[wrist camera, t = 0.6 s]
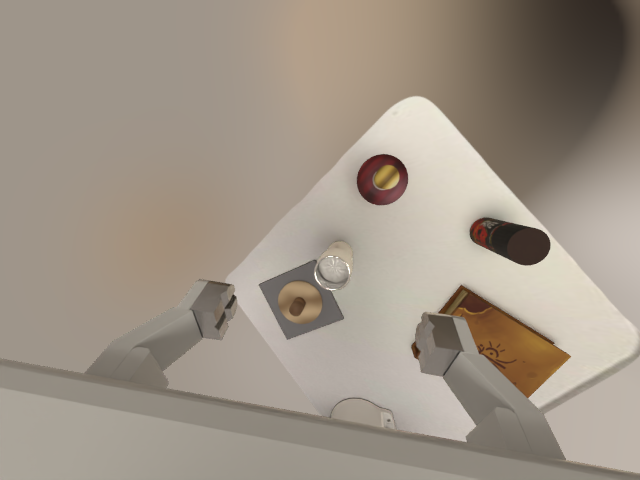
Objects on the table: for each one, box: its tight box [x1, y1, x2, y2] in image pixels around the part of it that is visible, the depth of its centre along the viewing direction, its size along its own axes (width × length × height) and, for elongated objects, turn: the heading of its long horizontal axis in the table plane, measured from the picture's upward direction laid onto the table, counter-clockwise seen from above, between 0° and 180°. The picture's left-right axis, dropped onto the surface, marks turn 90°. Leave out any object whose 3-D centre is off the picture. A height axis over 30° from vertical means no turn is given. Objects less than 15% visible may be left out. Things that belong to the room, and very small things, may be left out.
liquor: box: [357, 154, 408, 205], centre depth 43 cm, size 7×7×28 cm
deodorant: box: [470, 218, 550, 265], centre depth 47 cm, size 6×6×15 cm
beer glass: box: [314, 241, 353, 291], centre depth 53 cm, size 7×7×15 cm
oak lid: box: [278, 280, 322, 324], centre depth 62 cm, size 11×11×5 cm
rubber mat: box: [259, 260, 344, 340], centre depth 64 cm, size 16×16×1 cm
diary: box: [412, 285, 571, 398], centre depth 57 cm, size 23×19×6 cm
